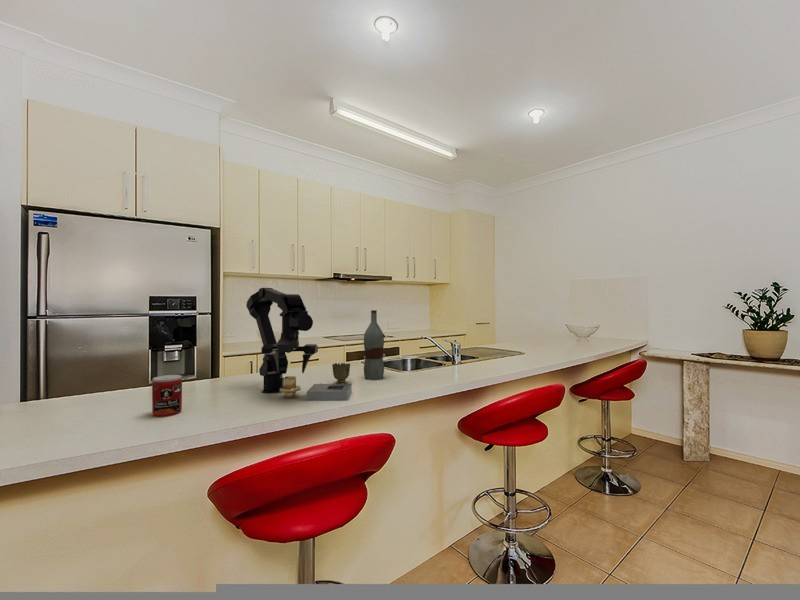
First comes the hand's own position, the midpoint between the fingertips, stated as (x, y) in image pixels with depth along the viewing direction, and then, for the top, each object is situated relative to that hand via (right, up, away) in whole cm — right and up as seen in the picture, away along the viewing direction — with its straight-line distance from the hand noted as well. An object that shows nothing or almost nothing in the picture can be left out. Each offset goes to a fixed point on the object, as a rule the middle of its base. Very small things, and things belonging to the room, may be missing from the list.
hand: (290, 373), depth 133 cm
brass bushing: (0, -9, 0) cm, 9 cm away
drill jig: (+14, -8, +1) cm, 16 cm away
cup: (+15, -9, +22) cm, 28 cm away
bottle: (+28, -9, +32) cm, 43 cm away
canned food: (-32, -9, -20) cm, 38 cm away
